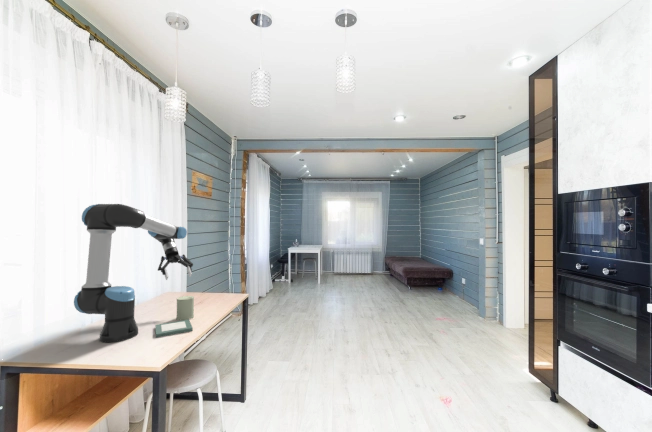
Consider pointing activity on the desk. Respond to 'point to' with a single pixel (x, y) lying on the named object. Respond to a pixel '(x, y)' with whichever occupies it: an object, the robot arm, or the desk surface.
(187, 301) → the can
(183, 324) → the board
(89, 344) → the desk surface
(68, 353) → the desk surface
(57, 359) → the desk surface
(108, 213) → the robot arm
